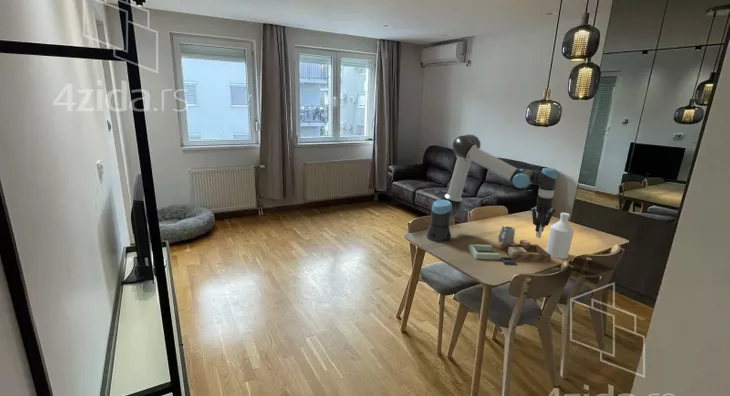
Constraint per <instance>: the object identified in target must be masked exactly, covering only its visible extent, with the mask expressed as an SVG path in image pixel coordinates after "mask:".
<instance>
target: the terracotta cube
mask: <svg viewBox="0 0 730 396" xmlns="http://www.w3.org/2000/svg"><path fill="white" fill-rule="evenodd" d="M519 244H531V241H529V240H527V239H520V240H519Z"/></svg>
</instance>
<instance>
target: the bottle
mask: <svg viewBox="0 0 730 396" xmlns="http://www.w3.org/2000/svg"><path fill="white" fill-rule="evenodd" d="M559 215H560V219H559V221H556V222H555V223H554V224H552V225H550V228H549V232H548V233H549V234H548V238H547V245H546V249H545V251H546V252H547V253H549V254H550V255H551V258H554V259H560V260H561V259H564V260H565V259H567V258H569V254H570V249H571V245H572V241H573V237H574V232H575V230H574V228H573V227H572V225H571V224H570V223H569V218H570V217H571V214H570V213H568V212H560V214H559Z"/></svg>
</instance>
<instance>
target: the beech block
mask: <svg viewBox="0 0 730 396" xmlns="http://www.w3.org/2000/svg"><path fill="white" fill-rule="evenodd" d="M511 253H526V254H528V251H526V250H525V249H524V248H522V247H509V248H508V250H507V254H508V255H509V257H511Z"/></svg>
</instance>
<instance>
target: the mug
mask: <svg viewBox="0 0 730 396" xmlns="http://www.w3.org/2000/svg"><path fill="white" fill-rule="evenodd" d="M515 231H516V229H515V228H514V227H512V226H506V225H505V226H504V225H501V230H500V232H499V234H498V237H497V239H498V243H501V244H502V243H506V244H515V243H514V242H515V235H516V233H515Z"/></svg>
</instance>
